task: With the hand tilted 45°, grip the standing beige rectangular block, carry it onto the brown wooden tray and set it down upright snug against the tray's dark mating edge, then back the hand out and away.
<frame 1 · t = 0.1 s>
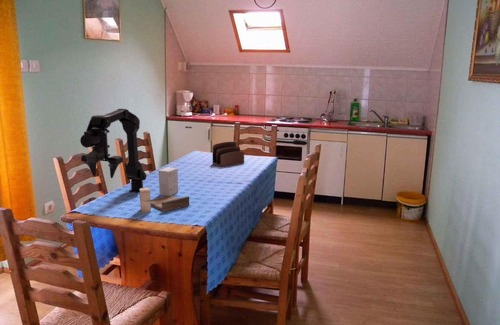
hand: (103, 177, 196), 15 cm above the table, tool pointing down, fingers open, 9 cm apart
letter holder: (228, 163, 289), on the table
small box: (168, 193, 221), on the table
brown wooden tray: (167, 204, 205), on the table
beige rectangular block: (145, 210, 196), on the table
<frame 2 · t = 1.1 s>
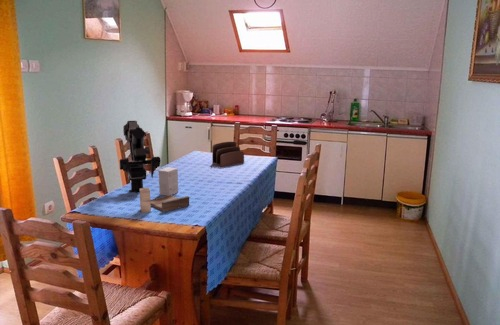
hand: (142, 178, 199), 13 cm above the table, tool tilted 45°, fingers open, 9 cm apart
nothing on the table moved.
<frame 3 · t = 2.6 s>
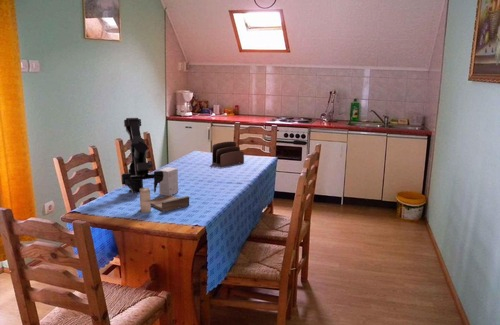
hand: (144, 193, 194), 8 cm above the table, tool tilted 45°, fingers open, 9 cm apart
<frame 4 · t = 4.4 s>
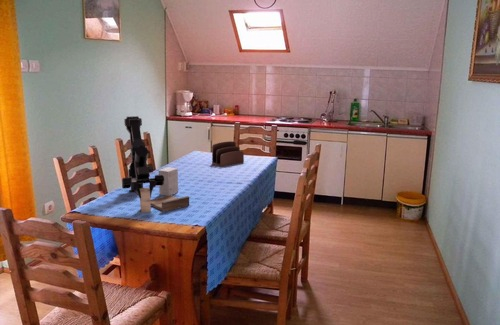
hand: (145, 197, 193), 7 cm above the table, tool tilted 45°, fingers closed on beige rectangular block, 4 cm apart
beige rectangular block: (145, 210, 196), on the table, touching gripper
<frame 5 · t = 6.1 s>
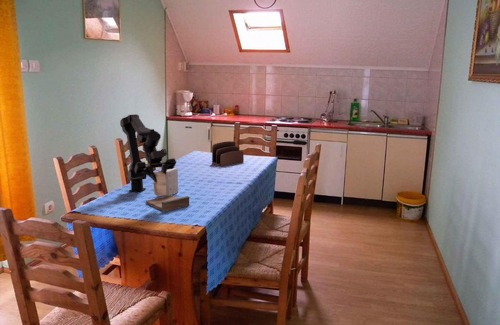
hand: (160, 181, 195), 13 cm above the table, tool tilted 45°, fingers closed on beige rectangular block, 4 cm apart
beige rectangular block: (160, 194, 197), point 7 cm above the table, touching gripper
when the fingers open (9 cm above the table, at t = 8.2 s): beige rectangular block drops 1 cm, resting on brown wooden tray.
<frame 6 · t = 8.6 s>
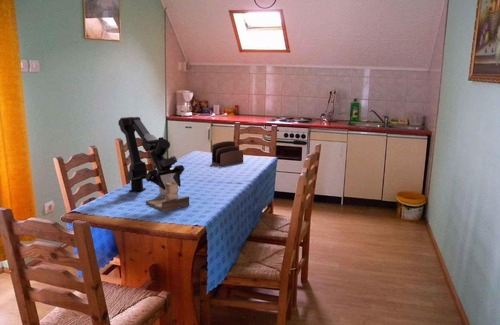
hand: (172, 187, 199), 9 cm above the table, tool tilted 45°, fingers open, 8 cm apart
beige rectangular block: (171, 203, 202), point 1 cm above the table, touching brown wooden tray
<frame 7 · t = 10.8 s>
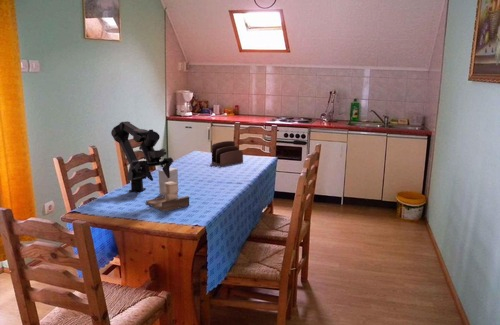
hand: (160, 179, 205), 12 cm above the table, tool tilted 45°, fingers open, 9 cm apart
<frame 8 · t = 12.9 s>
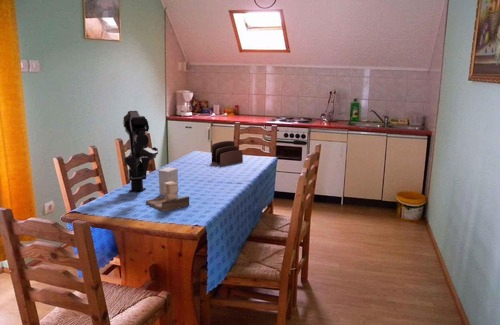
hand: (140, 173, 209), 13 cm above the table, tool pointing down, fingers open, 9 cm apart
at the end: beige rectangular block 0.1 cm from the target spot, point 1.3 cm above the table; beige rectangular block tilted 0°; the gripper is holding nothing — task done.
